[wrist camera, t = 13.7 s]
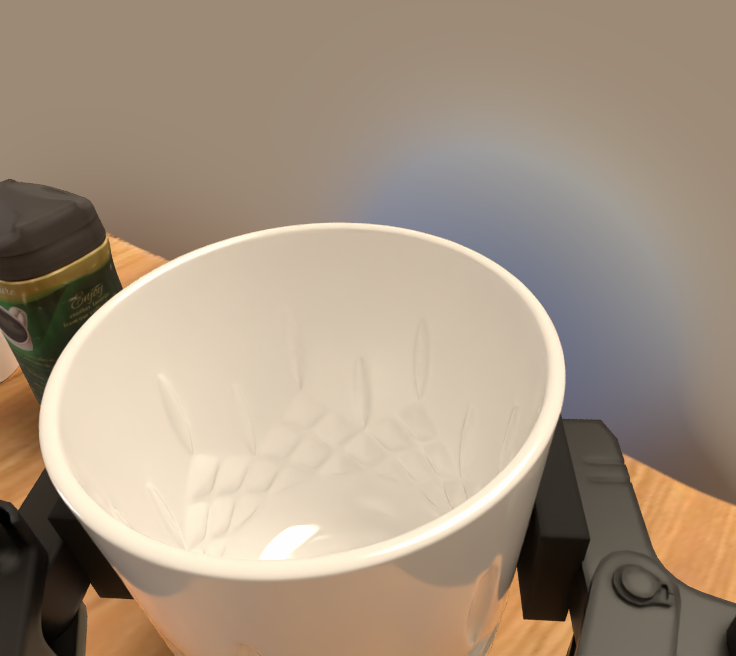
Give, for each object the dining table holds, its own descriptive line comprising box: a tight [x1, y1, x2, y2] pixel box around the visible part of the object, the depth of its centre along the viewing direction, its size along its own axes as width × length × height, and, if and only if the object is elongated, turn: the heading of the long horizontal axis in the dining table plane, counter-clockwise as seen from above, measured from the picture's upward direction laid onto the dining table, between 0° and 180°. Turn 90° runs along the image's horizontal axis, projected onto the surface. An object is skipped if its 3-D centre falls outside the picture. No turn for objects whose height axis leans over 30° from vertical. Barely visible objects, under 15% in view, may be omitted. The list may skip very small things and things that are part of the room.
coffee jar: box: [0, 179, 123, 406], centre depth 43 cm, size 10×8×19 cm
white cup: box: [39, 223, 565, 656], centre depth 12 cm, size 8×8×10 cm
